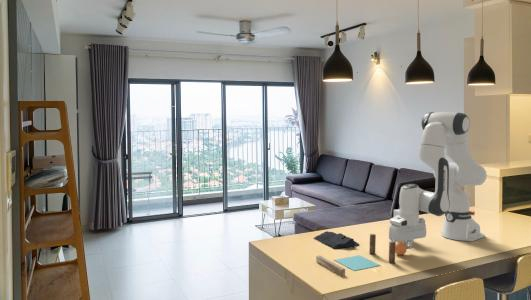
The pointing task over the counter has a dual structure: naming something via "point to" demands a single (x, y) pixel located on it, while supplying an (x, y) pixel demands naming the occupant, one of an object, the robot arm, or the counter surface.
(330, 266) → the rail
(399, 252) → the ball
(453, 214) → the robot arm
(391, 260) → the post
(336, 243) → the dark slate chunk
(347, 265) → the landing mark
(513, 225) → the counter surface
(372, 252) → the post
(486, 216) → the counter surface
